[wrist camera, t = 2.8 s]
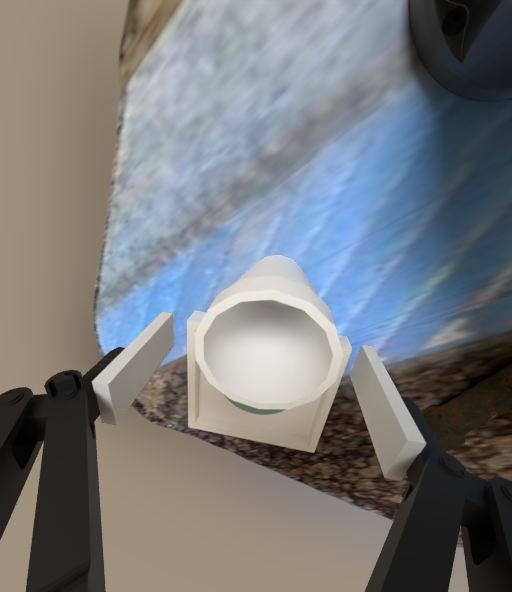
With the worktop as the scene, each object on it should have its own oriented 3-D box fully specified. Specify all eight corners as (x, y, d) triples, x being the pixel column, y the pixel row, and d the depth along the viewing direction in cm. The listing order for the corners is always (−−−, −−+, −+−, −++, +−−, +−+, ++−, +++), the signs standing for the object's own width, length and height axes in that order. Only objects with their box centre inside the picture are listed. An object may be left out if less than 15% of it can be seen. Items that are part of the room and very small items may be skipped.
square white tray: (194, 310, 30) (186, 320, 27) (347, 336, 28) (352, 349, 26) (194, 412, 38) (188, 427, 36) (312, 436, 37) (314, 452, 34)
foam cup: (287, 331, 29) (285, 428, 18) (222, 293, 28) (173, 369, 16) (336, 269, 25) (377, 342, 13) (262, 223, 24) (237, 258, 12)
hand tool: (533, 335, 26) (581, 364, 21) (555, 355, 26) (605, 387, 22) (388, 417, 33) (402, 450, 29) (408, 431, 34) (424, 466, 30)
